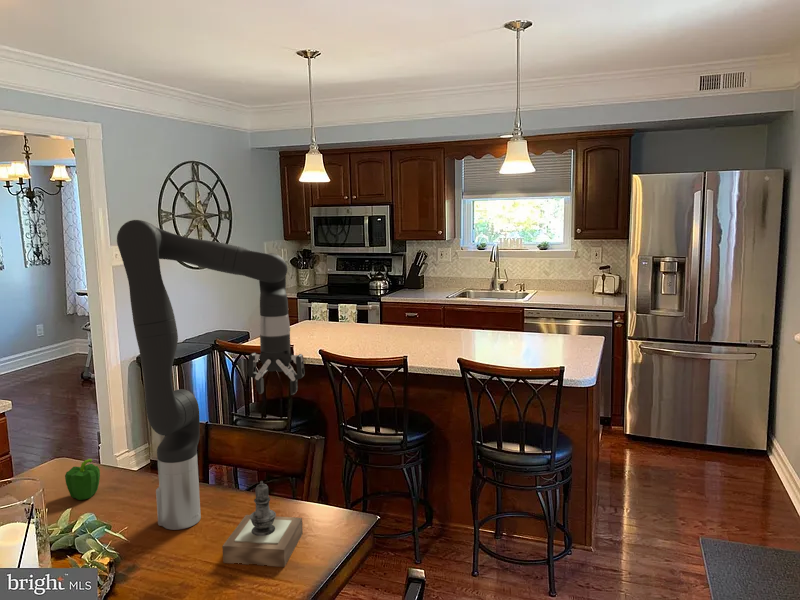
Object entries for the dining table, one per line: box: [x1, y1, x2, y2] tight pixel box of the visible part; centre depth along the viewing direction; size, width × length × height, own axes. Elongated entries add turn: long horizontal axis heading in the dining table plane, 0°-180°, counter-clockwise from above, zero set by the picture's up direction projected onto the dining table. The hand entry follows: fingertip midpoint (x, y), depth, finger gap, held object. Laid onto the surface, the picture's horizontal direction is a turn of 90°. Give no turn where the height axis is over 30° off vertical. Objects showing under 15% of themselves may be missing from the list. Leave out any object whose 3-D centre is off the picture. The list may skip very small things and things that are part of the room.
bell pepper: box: [64, 458, 101, 501], centre depth 166 cm, size 8×8×10 cm
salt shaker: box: [249, 480, 277, 536], centre depth 139 cm, size 6×6×12 cm
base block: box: [222, 514, 304, 568], centre depth 140 cm, size 14×14×4 cm
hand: (277, 393), depth 157 cm, fingers open, 8 cm apart
